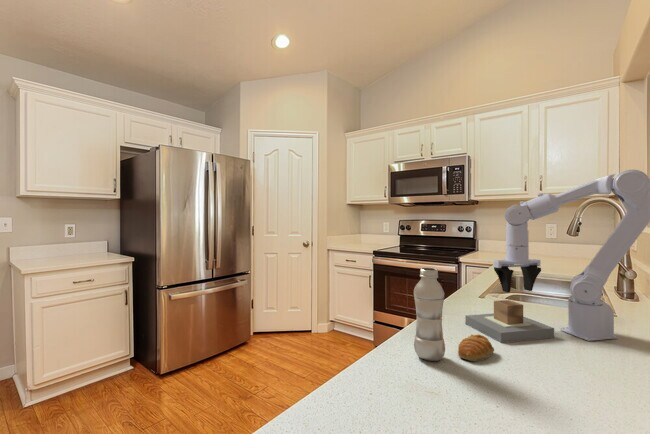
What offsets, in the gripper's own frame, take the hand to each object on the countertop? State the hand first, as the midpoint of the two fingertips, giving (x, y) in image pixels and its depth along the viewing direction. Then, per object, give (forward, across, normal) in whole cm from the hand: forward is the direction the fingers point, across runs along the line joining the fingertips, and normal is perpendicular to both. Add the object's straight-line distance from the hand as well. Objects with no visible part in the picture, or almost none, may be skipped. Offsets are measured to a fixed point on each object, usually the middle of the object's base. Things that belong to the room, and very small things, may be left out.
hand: (517, 291), depth 93 cm
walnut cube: (+7, +8, +5) cm, 12 cm away
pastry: (+10, +26, +16) cm, 33 cm away
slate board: (+9, +8, +5) cm, 13 cm away
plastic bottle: (+10, +38, +16) cm, 42 cm away
